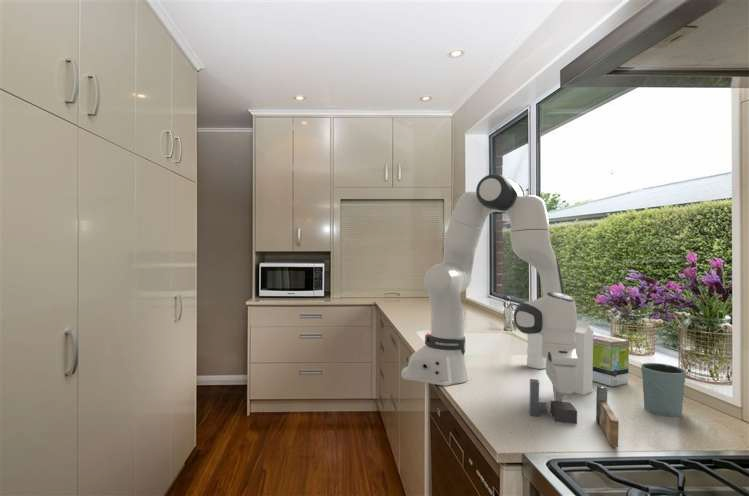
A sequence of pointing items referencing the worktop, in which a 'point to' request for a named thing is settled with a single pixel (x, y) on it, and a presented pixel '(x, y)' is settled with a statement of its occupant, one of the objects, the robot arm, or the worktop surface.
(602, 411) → the gate
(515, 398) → the worktop surface
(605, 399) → the hinge post
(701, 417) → the worktop surface
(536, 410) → the post
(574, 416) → the block
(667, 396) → the grey green cup
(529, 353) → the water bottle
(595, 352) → the tea box
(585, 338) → the milk
